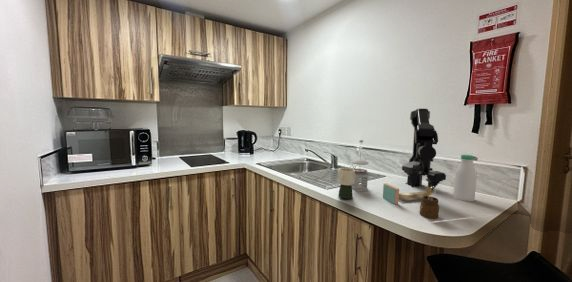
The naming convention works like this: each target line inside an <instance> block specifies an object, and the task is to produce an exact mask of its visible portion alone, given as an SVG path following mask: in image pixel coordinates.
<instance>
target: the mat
mask: <svg viewBox="0 0 572 282" xmlns="http://www.w3.org/2000/svg"><path fill="white" fill-rule="evenodd" d="M421 201H422V199H417V200H405V201H402V200H400V199H399V200H398V203H400V204H412V203H415V204H416V203H421Z"/></svg>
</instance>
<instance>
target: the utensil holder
mask: <svg viewBox="0 0 572 282" xmlns="http://www.w3.org/2000/svg"><path fill="white" fill-rule="evenodd" d="M432 188H433V191H434V192H433V191H432V192H431V187H430V190H429V187H428V185H426V189H425V192H426V194H427V195H428V196H423V197H422V201H421V202H419V203H420V204H419V215H420V216H421V217H422V218H423V217H424V218H425V219H430V220H437V219H439V212H440V206H439V199H438V198H437V197H435V196H434V194H436V193H437V188H436V187H435V188H434V187H432ZM429 191H430V192H429ZM433 193H434V194H433Z"/></svg>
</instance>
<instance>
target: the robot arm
mask: <svg viewBox="0 0 572 282" xmlns="http://www.w3.org/2000/svg"><path fill="white" fill-rule="evenodd" d="M409 116H410V117H409V120H410V121H411V123H410V124H411V125H412V127H413V128H414V129H413V141H412V142H413V144H412V155H411V157H410V158H409V159H408V162H407V163H405V164H404V163H403V165H402V166H401V171H403V173H405V174H406V175H407V179H406V182H405V185H408V186H411V188H415V187H416V188H418V187H425V185H424V184H423V176H426V178H425V180H426V181H427V188H428V187H429V190H430V187H431V192H432V193H433V191H434V190H433V188H432V187H434V188H436V187H437V186H438V185H439V184H440V182H444V181H446V180H447V175H446V173H445V172H443V171H438V170H433V168H432V167H431V163H432V162H434V158H435V157H436V155H437V151H436V149H435V148H434V145H437V144H438V142H439V133H438V132H437V130H435V126H434V125H433V124H431V123H430V118H431V111H429V109H428V108H416V109H415V110H412V111H410V114H409ZM429 192H430V191H429Z"/></svg>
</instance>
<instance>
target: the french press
mask: <svg viewBox="0 0 572 282" xmlns="http://www.w3.org/2000/svg"><path fill="white" fill-rule="evenodd" d="M359 143H360V144H362V143H364V140H363V139H359ZM359 157H360V158H357V159H354V160H352V161H351V163H352V164H353V165H351V166H350V167H349V168H351V169H354V170H355V182H354V185H351V186H352V191H356V192H357V191H358V192H367V191H369V188H368V182H369V181H368V180H369V179H368V178H369V173H368V170H367V169H365V168H356V166H357V165H359V166H365V165H366V166H367V165H369V162H368V161H367V160H366V159H362V158H361V157H362V152H360V155H359ZM354 165H355V166H354Z"/></svg>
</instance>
